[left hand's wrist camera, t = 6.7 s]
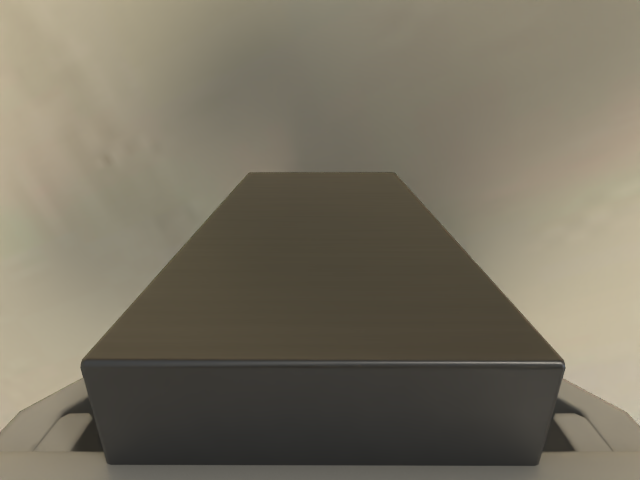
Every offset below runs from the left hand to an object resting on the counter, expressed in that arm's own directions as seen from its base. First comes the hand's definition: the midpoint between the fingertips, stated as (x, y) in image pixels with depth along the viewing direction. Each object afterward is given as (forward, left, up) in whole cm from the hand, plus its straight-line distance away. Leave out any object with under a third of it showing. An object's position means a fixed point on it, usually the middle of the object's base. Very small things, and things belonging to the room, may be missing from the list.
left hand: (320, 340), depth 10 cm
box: (+10, 0, -6) cm, 12 cm away
